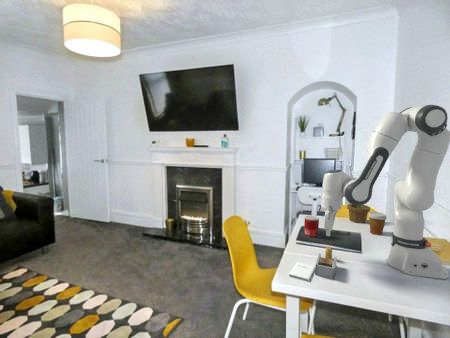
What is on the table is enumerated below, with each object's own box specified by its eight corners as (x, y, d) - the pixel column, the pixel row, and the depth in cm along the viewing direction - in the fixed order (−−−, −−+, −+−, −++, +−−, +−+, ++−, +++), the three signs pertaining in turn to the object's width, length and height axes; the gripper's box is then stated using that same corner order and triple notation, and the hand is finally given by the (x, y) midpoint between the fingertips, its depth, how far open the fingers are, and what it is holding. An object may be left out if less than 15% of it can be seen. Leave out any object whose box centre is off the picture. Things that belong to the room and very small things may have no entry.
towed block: (334, 258, 127) (334, 248, 126) (331, 275, 111) (331, 264, 110) (323, 255, 129) (323, 246, 128) (318, 272, 113) (319, 261, 113)
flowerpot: (371, 220, 182) (374, 178, 178) (366, 225, 171) (369, 180, 167) (349, 216, 191) (352, 175, 187) (343, 221, 181) (346, 178, 176)
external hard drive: (289, 277, 111) (296, 264, 122) (308, 283, 107) (315, 269, 118) (289, 273, 111) (297, 261, 122) (308, 279, 107) (315, 266, 117)
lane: (336, 266, 119) (336, 256, 119) (334, 279, 109) (334, 269, 108) (318, 262, 123) (319, 253, 122) (315, 274, 112) (315, 264, 112)
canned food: (319, 238, 151) (319, 219, 150) (304, 237, 153) (305, 218, 151) (317, 233, 159) (318, 215, 157) (303, 232, 160) (304, 214, 159)
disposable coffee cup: (368, 234, 156) (369, 215, 155) (366, 229, 165) (367, 210, 164) (386, 237, 153) (388, 217, 151) (383, 231, 162) (385, 212, 160)
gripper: (337, 210, 112) (334, 241, 114) (339, 200, 130) (337, 226, 132) (321, 208, 115) (319, 238, 117) (326, 198, 133) (324, 224, 135)
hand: (329, 232), depth 125 cm, fingers open, 8 cm apart
